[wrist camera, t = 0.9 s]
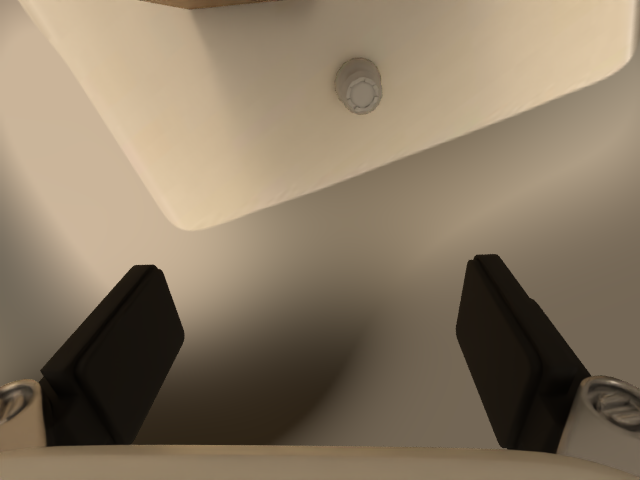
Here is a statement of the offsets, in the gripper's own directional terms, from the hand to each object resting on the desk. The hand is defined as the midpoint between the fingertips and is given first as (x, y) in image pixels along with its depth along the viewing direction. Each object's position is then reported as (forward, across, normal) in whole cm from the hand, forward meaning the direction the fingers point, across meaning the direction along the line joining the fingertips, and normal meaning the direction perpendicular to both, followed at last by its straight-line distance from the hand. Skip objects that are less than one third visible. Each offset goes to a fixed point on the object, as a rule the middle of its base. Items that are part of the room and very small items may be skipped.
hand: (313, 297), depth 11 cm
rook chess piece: (+29, -3, -3) cm, 29 cm away
